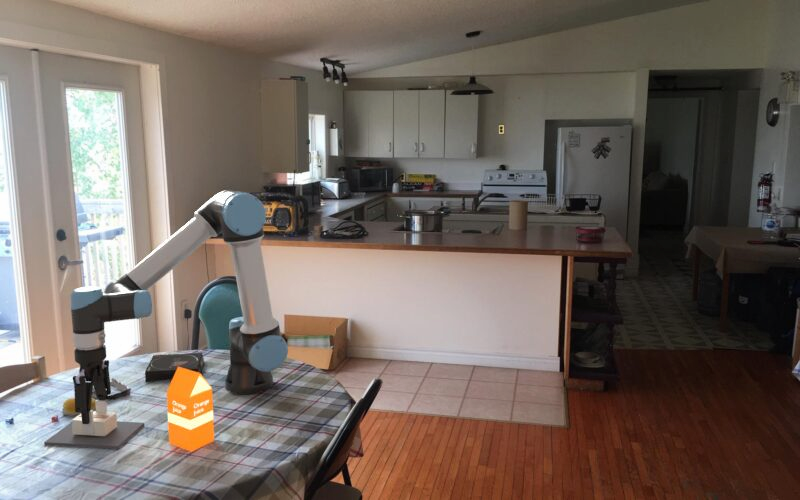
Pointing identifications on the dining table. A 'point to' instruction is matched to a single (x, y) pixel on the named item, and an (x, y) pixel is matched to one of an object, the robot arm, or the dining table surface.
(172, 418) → the orange juice
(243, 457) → the dining table surface
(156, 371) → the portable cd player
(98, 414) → the block
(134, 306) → the robot arm
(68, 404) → the bread roll
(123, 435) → the charcoal mat
